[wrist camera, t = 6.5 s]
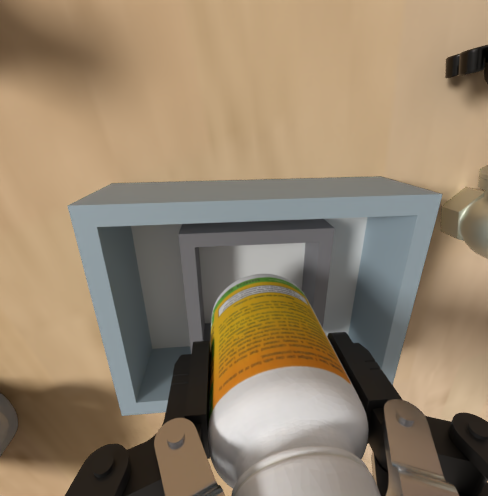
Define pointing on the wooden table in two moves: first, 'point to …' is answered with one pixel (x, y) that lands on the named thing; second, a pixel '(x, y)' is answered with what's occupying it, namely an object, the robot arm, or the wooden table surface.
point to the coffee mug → (7, 422)
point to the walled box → (246, 263)
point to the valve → (472, 200)
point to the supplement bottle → (281, 398)
